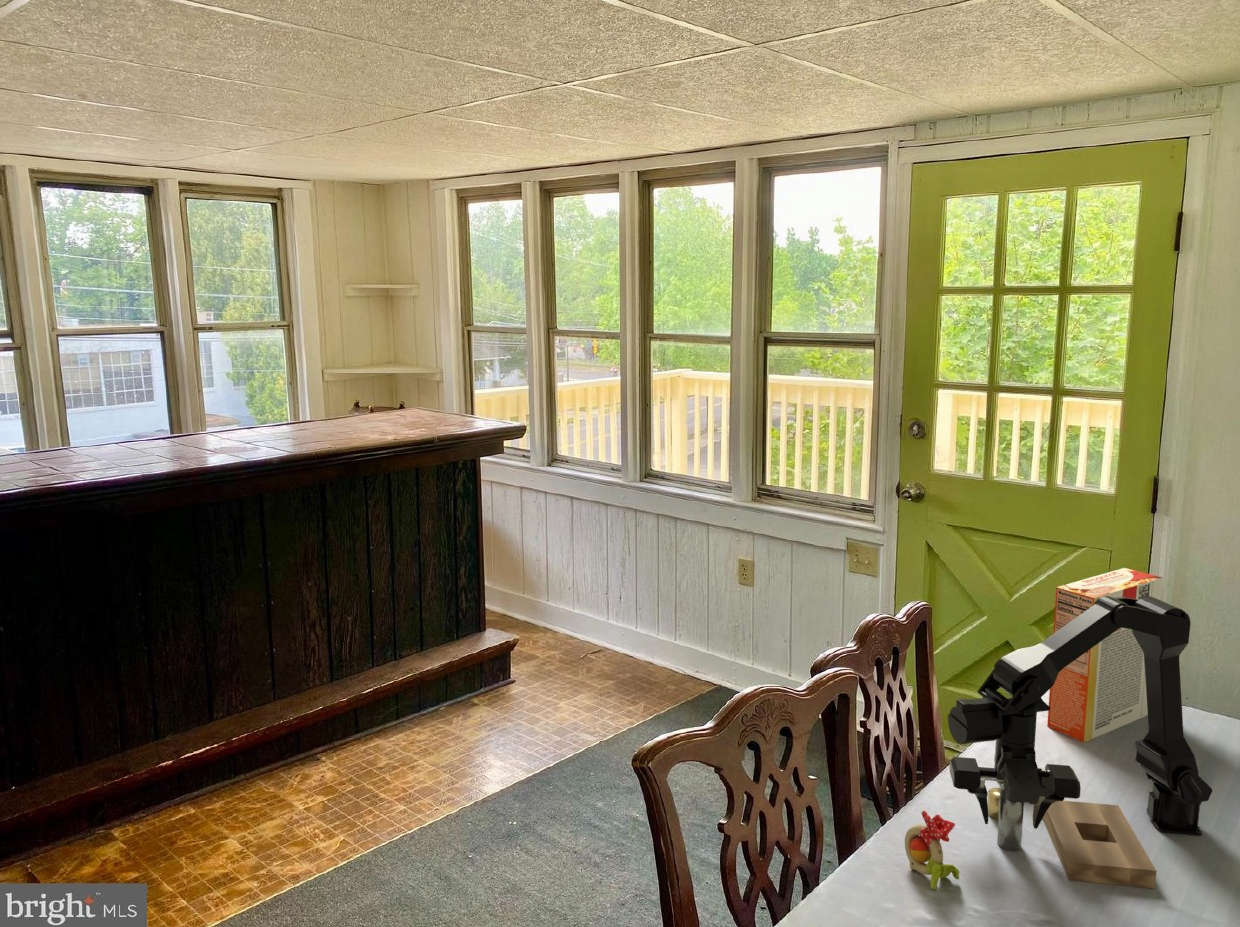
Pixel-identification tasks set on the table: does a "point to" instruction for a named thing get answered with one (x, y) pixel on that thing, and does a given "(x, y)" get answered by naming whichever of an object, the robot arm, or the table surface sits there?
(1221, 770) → the table surface
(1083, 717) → the cereal box
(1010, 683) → the robot arm
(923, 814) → the bird rattle
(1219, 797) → the table surface
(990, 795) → the short pin
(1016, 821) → the long pin
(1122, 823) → the hole block
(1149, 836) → the table surface
